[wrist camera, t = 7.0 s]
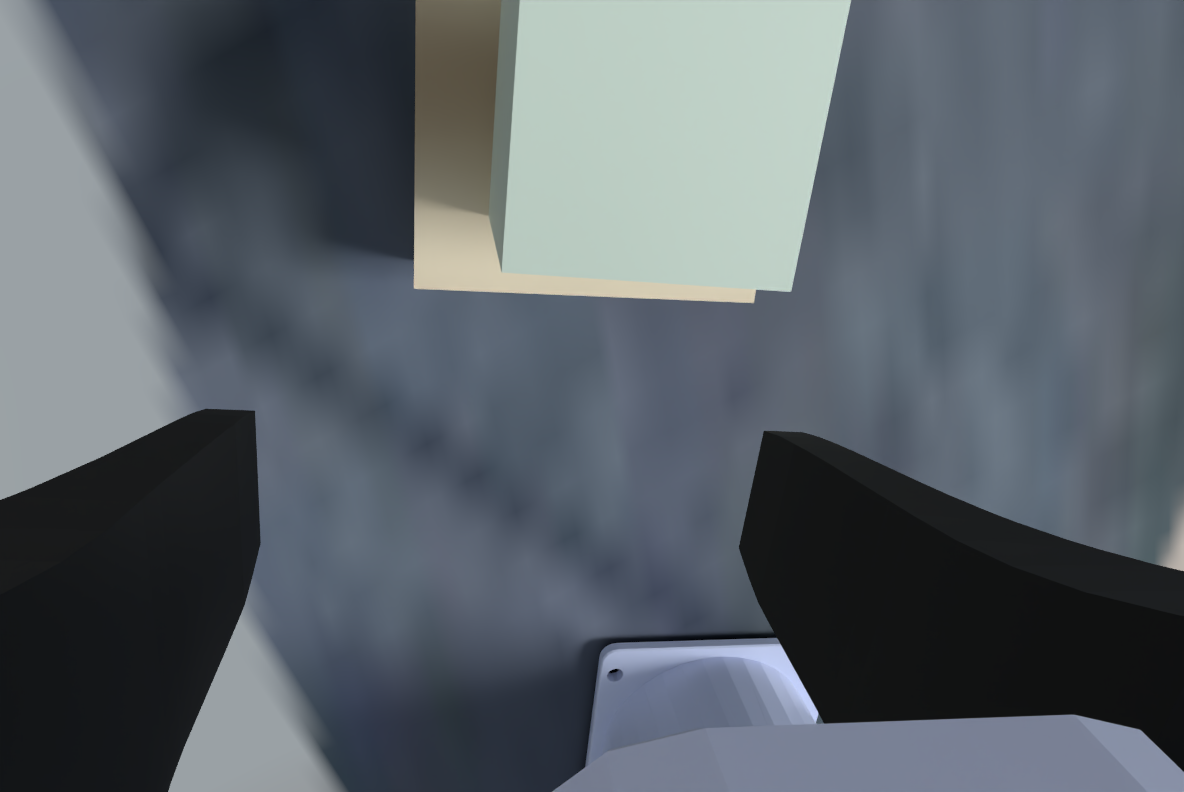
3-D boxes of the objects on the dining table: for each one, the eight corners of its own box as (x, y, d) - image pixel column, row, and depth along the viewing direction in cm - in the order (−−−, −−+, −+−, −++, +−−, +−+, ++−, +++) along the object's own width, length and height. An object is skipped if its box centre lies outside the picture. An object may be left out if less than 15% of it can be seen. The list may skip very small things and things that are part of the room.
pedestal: (715, 271, 22) (753, 302, 19) (417, 257, 21) (413, 288, 18) (764, -59, 19) (818, -77, 16) (420, -104, 18) (416, -132, 15)
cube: (707, 233, 18) (791, 291, 14) (488, 215, 18) (501, 272, 13) (746, -9, 17) (857, -31, 12) (503, -43, 16) (525, -82, 11)
